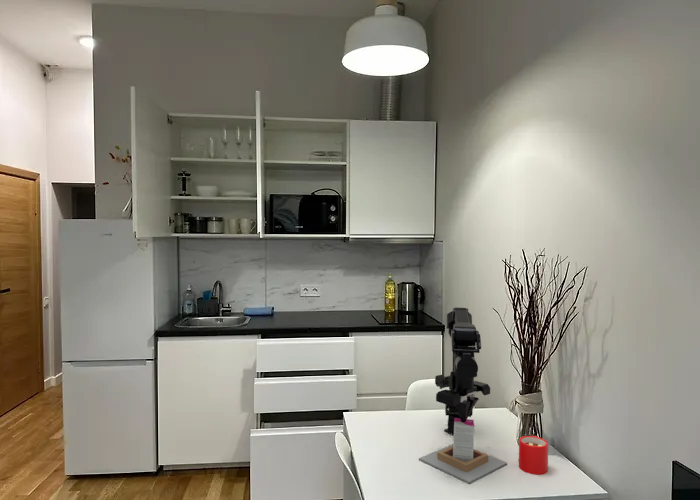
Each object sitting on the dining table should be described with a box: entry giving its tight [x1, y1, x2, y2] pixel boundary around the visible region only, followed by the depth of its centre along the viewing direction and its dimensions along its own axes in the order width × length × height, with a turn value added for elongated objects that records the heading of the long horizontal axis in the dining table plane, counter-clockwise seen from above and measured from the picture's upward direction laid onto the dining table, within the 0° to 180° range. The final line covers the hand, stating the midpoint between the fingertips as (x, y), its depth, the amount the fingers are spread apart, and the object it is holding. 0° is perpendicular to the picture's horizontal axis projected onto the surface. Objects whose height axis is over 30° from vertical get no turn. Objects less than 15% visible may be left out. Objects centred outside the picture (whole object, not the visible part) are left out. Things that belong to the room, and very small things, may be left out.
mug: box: [518, 435, 549, 476], centre depth 142 cm, size 8×12×8 cm, turn 154°
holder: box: [418, 444, 508, 485], centre depth 143 cm, size 18×18×3 cm
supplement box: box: [452, 418, 475, 462], centre depth 143 cm, size 6×6×12 cm
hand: (463, 421), depth 143 cm, fingers closed, pressing on supplement box
